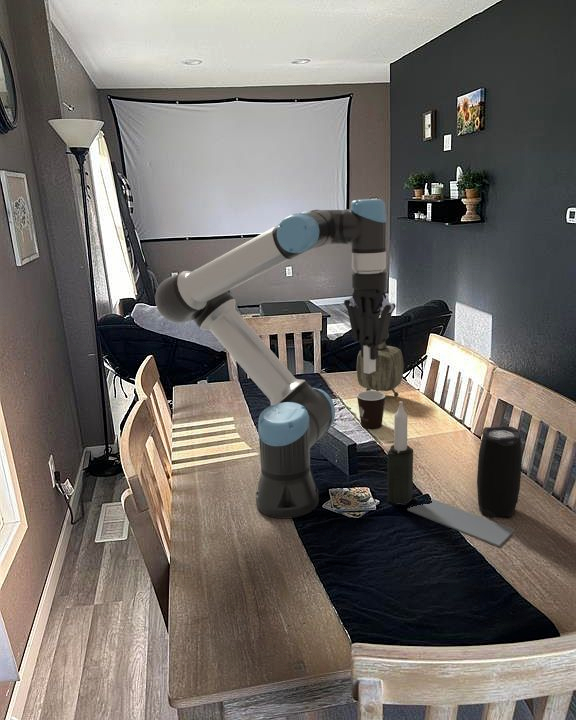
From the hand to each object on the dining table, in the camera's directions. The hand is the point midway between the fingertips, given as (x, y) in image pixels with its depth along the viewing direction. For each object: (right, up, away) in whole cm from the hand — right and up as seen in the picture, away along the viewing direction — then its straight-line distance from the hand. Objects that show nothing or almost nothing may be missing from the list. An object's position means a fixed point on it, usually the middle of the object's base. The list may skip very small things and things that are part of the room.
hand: (369, 371), depth 137 cm
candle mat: (+19, -33, -7) cm, 38 cm away
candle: (+8, -31, +3) cm, 32 cm away
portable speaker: (+28, -32, -4) cm, 43 cm away
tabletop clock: (+13, -11, +70) cm, 72 cm away
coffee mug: (+7, -17, +47) cm, 51 cm away
